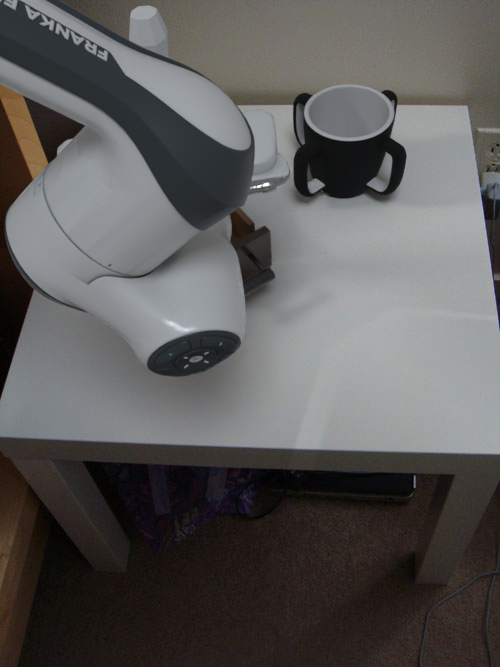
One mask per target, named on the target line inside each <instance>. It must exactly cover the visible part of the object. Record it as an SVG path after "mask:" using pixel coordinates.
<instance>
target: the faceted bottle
mask: <svg viewBox="0 0 500 667" xmlns="http://www.w3.org/2000/svg"><path fill="white" fill-rule="evenodd" d="M168 30H169V29H168V27H167V25H166V23H165V22H164V20H163V18H162V16H161V14H160V12H159V9H158V8H157V7H154V6H152V5H138V6H136V7H135V8H134V9H132V10H131V11H130V15H129V31H128V32H129V34H128V40H129V41H131V42H133V43H135V44H137V45H139V46H141V47H143V48H146V49H148V50H150V51H153V52H155V53H157V54H160V55H162V56H165V57H167V58H170V59H171V52H170V41H169V31H168Z"/></svg>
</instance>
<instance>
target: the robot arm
mask: <svg viewBox="0 0 500 667" xmlns="http://www.w3.org/2000/svg"><path fill="white" fill-rule="evenodd" d="M0 86H3V87H4V88H6V89H9V90H11V91H12V92H15V93H17V94H19V95H21V96H22V97H24V98H27V99H29V100H31V101H33V102H35V103H38V104H40V105H41V106H43V107H46V108H48V109H50V110H52V111H54V112H56V113H58V114H60V115H62V116H64V117H66V118H69V120H70V119H71V120H72V121H75V122H77V123H79V124H81V125H83V127H82V128H81V129H80V131H78V133H77V134H76V135H75V136H74V137H73V138H69V139H66V140H64V141H63V142H62V143H61V144H60V145H59V146H58V147H57V150H56V156H55V158H54V159H52V160H51V161H50V162H49V163H47V164H46V166H44V168H42V170H41V171H39V173H38V174H37V175H36V176H35V177H34V178H33V179H32V180H31V182H30V183H29V184H28V186H26V187H25V189H23V191H22V192H21V193H20V194H19V195H18V197H17V198H16V199H15V201H14V202H13V203H12V204H11V205H9V207H8V209H7V210H6V213H5V216H4V236H5V242H6V246H7V250H8V252H9V255H10V257H11V260H12V262H13V263H14V266H15V267H16V269H17V270H18V272H19V274H20V275H21V277H22V278H23V279H24V280H25V281H26V283H27V284H28V285H29V286H30V287H31V288H32V289H33V290H34V291H36V292H37V293H38V294H40V295H41V296H42V297H44V298H46V299H47V300H49V301H52V302H53V303H56V304H58V305H61V306H63V307H67V308H69V309H73V310H75V311H79V312H82V313H86V314H90V315H91V316H93V317H94V318H96V319H98V320H99V321H100V322H102V323H104V325H106V326H107V327H109V328H111V329H112V330H113V331H114V332H116V333H117V334H118V335H119V336H120V337H122V338H123V340H125V342H126V343H127V344H128V345H129V346H130V348H131V349H132V351H133V352H134V354H135V355H136V357H137V359H138V361H139V362H140V363H141V364H142V365H143V367H144V368H145V369H147V370H148V371H150V372H151V373H153V374H156V375H159V376H165V377H172V378H174V377H175V378H176V377H177V378H180V377H188V376H191V375H196V374H200V373H205V372H206V371H208V370H211V369H212V368H214V367H216V366H218V365H220V364H221V363H223V362H224V361H226V360H227V359H229V358H230V357H231V356H233V355H234V354H235V353H236V352H237V351H238V350H239V349H240V347H241V346H242V344H243V341H244V337H245V333H246V326H247V310H246V296H245V295H244V288H243V281H242V274H241V269H240V264H239V259H238V256H237V253H236V251H235V249H234V247H233V246H232V244H231V243H230V240H231V234H232V224H231V218H230V214H231V213H232V212H234V211H235V210H237V209H239V208H242V207H243V206H244V205H245V204H246V202H247V199H248V196H251V195H257V194H269V193H273V192H276V191H277V189H278V187H281V186H283V185H284V184H285V183H287V182H288V181H289V179H290V177H291V170H290V166H289V163H288V160H287V158H286V157H285V156H284V155H283V154H282V153H280V152H278V140H277V129H276V123H275V118H274V115H273V114H272V113H270V112H268V111H267V110H265V109H260V108H259V109H254V110H248V111H242V110H241V109H240V108H239V106H238V105H237V104H236V103H235V102H234V100H233V99H232V98H231V97H230V96H229V95H228V94H227V93H226V91H224V90H223V89H222V88H221V87H220V86H219V85H217V84H216V83H215V82H214V81H212V79H210V78H208V77H207V76H206V75H204V74H202V72H199V71H198V70H196V69H194V68H192V67H190V66H189V65H187V64H184V63H182V62H180V61H176V60H175V59H172V58H171V57H170V58H167V57H165V56H162V55H160V54H157V53H155V52H153V51H150V50H148V49H146V48H143V47H141V46H139V45H137V44H135V43H133V42H131V41H129V38H126V37H124V36H122V35H121V34H119V33H117V32H115V31H114V30H112V29H111V28H108V27H107V26H105V25H104V24H102V23H100V22H98V21H97V20H95V19H94V18H92V17H90V16H88V15H87V14H85V13H83V12H82V11H80V10H78V9H77V8H76V7H73V6H72V5H70V4H68V3H66V2H65V1H63V0H0Z"/></svg>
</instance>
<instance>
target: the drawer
mask: <svg viewBox="0 0 500 667" xmlns="http://www.w3.org/2000/svg"><path fill="white" fill-rule="evenodd" d="M230 218H231V224H232V234H231V240H230V243H231V244H232V246H233V247H234V249H235V251H236V253H237V256H238V259H239V264H240V269H241V274H242V281H243V288H244V295H245V297H247V296H249V295H250V294H252V293H253V292H255V291H257V290H260V289H261V288H262V287H264V286H265V285H267V284H270V283H271V282H273V281H274V280H275V279H276V274H275V272H274V270H273V269H272V268H271V267H272V266H273V257H272V238H271V229H269V228H268V227H267V225H263V226H261V227H259V228H257V229H256V225H255V222H254V220H252V218H250V216H248V214H246V212H244V210H243V209H242V207H240V208H239V209H237V210H235V211H234V212H232V213H231V214H230Z"/></svg>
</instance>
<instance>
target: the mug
mask: <svg viewBox="0 0 500 667" xmlns="http://www.w3.org/2000/svg"><path fill="white" fill-rule="evenodd" d="M398 102H399V100H398V95H397V94H396V93H395V92H394V91H393V90H390V89H385V90H382V91H380V90H377V89H375V88H372V87H370V86H367V85H362V84H355V83H345V84H337V85H332V86H328V87H326V88H322V89H321V90H319V91H317V92H316V93H314V94H310V93H308V92H301V93H300V94H298V95H296V97H295V98H294V100H293V104H292V126H293V132H294V137H295V138H296V141H297V143H298V145H299V146H300V147H298V148H297V149H296V151H295V153H294V156H293V166H292V168H293V170H292V171H293V172H292V174H293V183H294V187H295V189H296V191H297V192H298V193H299V194H300V195H301V196H302V197H305V198H312V197H314V196H316V195H318V194H319V193H321V192H323V193H325V194H327V195H329V196H332V197H336V198H351V197H355V196H358V195H361V194H363V193H364V192H366V191H368V190H370V191H371V192H373V193H375V194H377V195H379V196H383V197H384V196H385V197H386V196H389V195H391V194H393V193H394V192H395V191H396V190H397V189H398V188H399V186H401V183H402V181H403V178H404V174H405V169H406V164H407V157H408V156H407V150H406V148H405V147H404V145H402V144H401V143H400V142H397V141H396V140H395V139H393V138H392V137H391V136H392V134H393V128H394V126H395V120H396V114H397V108H398ZM386 154H388V155H389V156H390V157H391V168H390V173H389V178H388V182H386V181H384V180H382V179H381V178H378V174H379V172H380V170H381V169H382V166H383V163H384V160H385V157H386ZM309 173H310V176H311V179H312V180H310V181H309V179H308V178H309V177H308V176H309Z"/></svg>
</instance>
